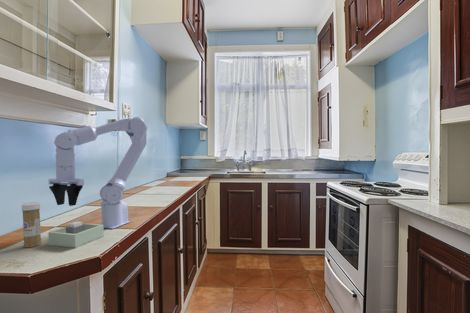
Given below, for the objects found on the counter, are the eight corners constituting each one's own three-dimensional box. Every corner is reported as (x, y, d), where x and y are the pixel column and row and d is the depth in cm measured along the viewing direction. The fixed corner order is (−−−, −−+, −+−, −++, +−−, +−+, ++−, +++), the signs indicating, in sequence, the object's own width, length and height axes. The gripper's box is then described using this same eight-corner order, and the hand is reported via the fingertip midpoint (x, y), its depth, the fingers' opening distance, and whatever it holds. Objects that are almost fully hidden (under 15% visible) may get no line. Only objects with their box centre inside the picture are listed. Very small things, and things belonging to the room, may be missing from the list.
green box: (79, 234, 95) (78, 222, 95) (103, 236, 92) (103, 224, 92) (49, 244, 85) (48, 232, 85) (75, 248, 81) (75, 234, 81)
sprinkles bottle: (19, 248, 83) (17, 204, 82) (31, 242, 87) (29, 201, 87) (34, 247, 82) (32, 204, 82) (45, 242, 87) (43, 201, 87)
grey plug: (77, 237, 90) (76, 220, 90) (85, 238, 89) (84, 221, 89) (66, 241, 86) (65, 224, 86) (74, 242, 85) (73, 224, 85)
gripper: (39, 167, 94) (40, 206, 94) (71, 167, 89) (72, 208, 89) (58, 166, 100) (59, 202, 100) (88, 166, 96) (89, 204, 96)
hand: (66, 205), depth 95 cm, fingers open, 5 cm apart
